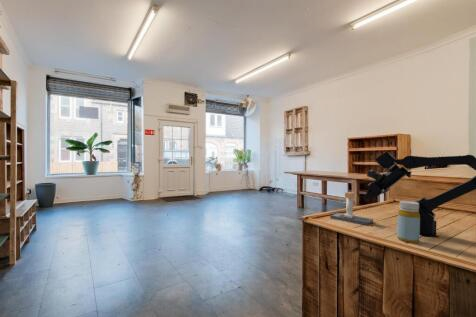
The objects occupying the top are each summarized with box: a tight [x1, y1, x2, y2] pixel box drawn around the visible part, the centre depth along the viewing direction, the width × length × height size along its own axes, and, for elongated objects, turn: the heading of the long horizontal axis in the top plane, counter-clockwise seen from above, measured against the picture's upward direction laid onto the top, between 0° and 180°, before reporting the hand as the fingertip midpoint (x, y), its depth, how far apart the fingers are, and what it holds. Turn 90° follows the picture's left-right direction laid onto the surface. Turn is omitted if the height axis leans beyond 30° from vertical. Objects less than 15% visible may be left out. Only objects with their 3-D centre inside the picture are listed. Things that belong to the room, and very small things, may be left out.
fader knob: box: [343, 191, 356, 218], centre depth 123 cm, size 4×5×12 cm
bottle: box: [396, 200, 421, 244], centre depth 93 cm, size 7×7×15 cm
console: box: [329, 212, 374, 226], centre depth 122 cm, size 18×9×2 cm, turn 47°
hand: (365, 198), depth 118 cm, fingers open, 8 cm apart
